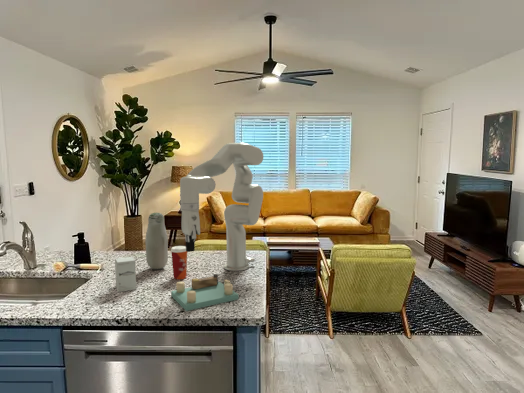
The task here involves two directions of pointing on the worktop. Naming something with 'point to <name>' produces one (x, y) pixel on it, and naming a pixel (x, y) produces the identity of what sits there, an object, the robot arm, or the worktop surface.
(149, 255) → the grey ceramic bottle
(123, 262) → the supplement box
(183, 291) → the stool seat
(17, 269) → the worktop surface
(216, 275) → the folding leg
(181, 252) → the paper cup
